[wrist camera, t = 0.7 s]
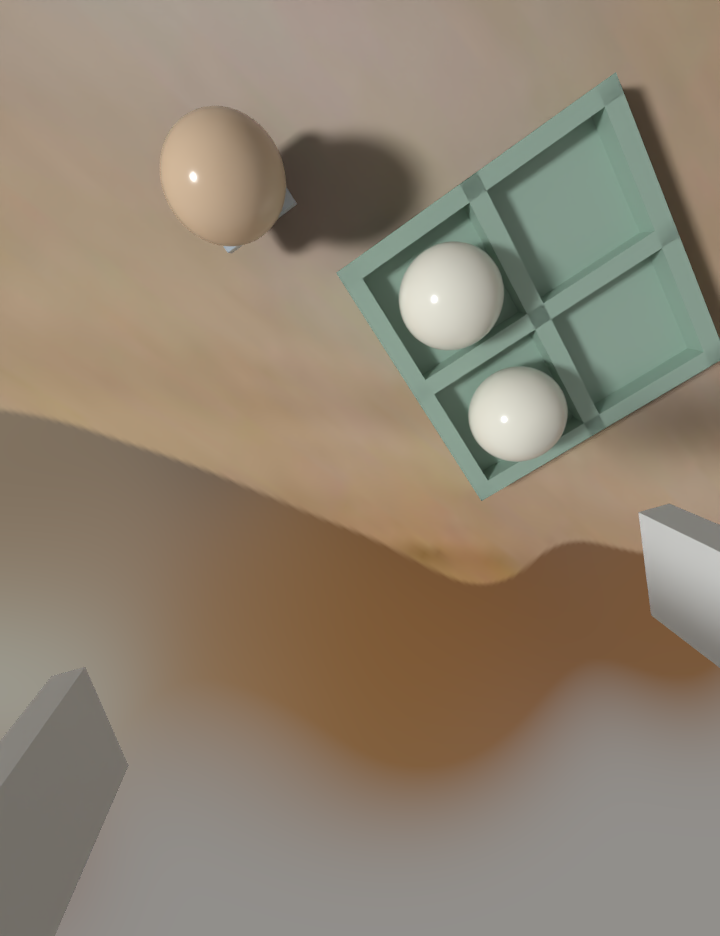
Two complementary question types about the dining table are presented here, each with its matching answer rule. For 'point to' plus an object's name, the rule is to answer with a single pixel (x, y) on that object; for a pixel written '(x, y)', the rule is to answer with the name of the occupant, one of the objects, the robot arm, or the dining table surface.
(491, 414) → the cream egg
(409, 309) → the cream egg
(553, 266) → the carton
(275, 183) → the brown egg
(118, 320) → the dining table surface
